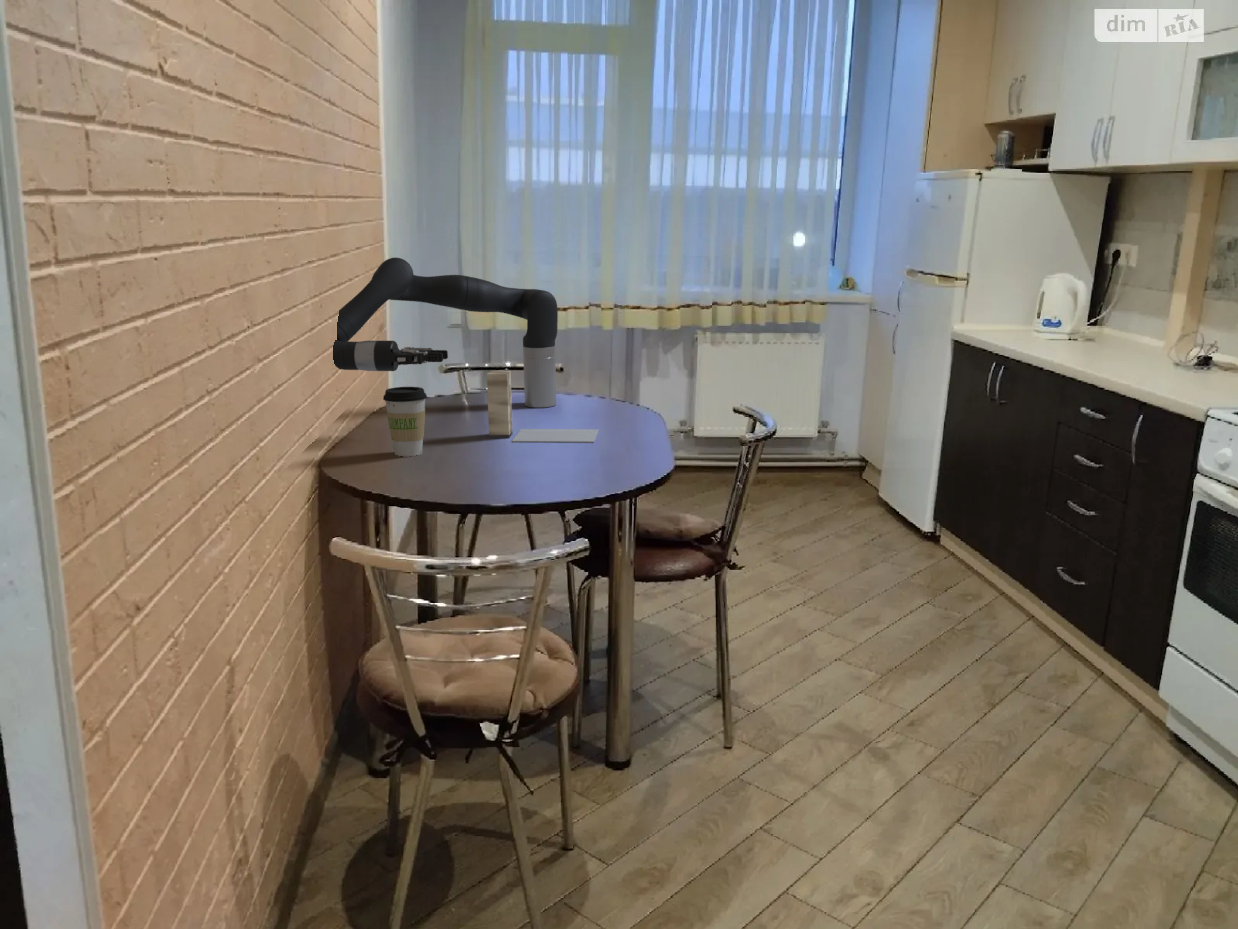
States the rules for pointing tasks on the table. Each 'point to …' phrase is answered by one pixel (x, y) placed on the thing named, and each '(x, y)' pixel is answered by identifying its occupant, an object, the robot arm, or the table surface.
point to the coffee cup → (406, 419)
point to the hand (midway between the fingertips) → (444, 355)
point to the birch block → (499, 404)
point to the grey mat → (556, 435)
